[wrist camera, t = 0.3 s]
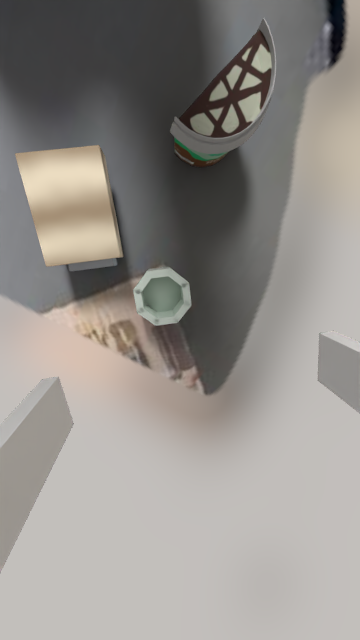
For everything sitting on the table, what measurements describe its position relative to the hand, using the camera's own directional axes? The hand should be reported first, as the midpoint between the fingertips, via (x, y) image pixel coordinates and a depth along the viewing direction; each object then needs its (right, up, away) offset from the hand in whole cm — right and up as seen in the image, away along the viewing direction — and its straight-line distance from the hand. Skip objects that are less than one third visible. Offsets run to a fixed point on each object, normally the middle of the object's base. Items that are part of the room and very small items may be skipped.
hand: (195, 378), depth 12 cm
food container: (+4, +27, +20) cm, 34 cm away
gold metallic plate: (-14, +17, +18) cm, 28 cm away
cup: (-4, +7, +25) cm, 26 cm away
